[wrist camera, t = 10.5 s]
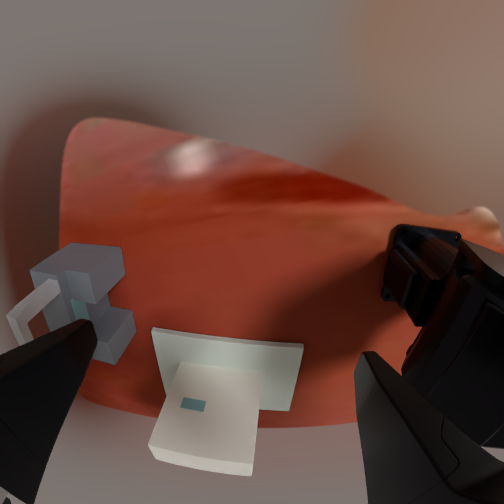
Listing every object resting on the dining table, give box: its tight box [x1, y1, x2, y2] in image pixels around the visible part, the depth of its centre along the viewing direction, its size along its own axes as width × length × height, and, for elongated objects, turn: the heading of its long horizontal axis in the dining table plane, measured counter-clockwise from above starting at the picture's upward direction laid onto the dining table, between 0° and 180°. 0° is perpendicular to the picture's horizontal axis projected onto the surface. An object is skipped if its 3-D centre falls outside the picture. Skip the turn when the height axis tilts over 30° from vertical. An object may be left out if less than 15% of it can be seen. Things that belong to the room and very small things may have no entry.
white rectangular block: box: [148, 361, 262, 476], centre depth 21 cm, size 8×3×10 cm, turn 87°
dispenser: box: [6, 243, 137, 365], centre depth 19 cm, size 6×9×11 cm, turn 177°
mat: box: [151, 327, 304, 411], centre depth 26 cm, size 14×10×1 cm
